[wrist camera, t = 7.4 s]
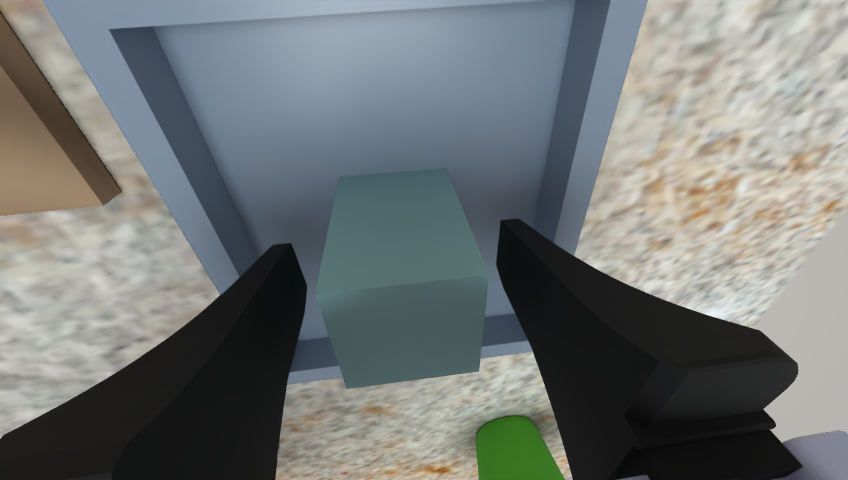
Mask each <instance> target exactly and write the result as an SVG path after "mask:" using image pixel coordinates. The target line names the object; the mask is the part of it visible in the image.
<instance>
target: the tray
mask: <svg viewBox="0 0 848 480" xmlns="http://www.w3.org/2000/svg"><path fill="white" fill-rule="evenodd" d="M647 1H648V0H43V2H44V4H45V5H46V7H47V8H48V10H49V12H50V13H51V15H52V17H53V18H54V20H55V22H56V23H57V25H58V27H59V28H60V30H61V32H62V33H63V35H64V37H65V38H66V40H67V42H68V43H69V45H70V47H71V48H72V50H73V52H74V53H75V55H76V57H77V58H78V60H79V62H80V63H81V65H82V67H83V68H84V70H85V71H86V73H87V75H88V76H89V78H90V80H91V81H92V83H93V85H94V86H95V88H96V90H97V91H98V93H99V95H100V96H101V98H102V100H103V101H104V103H105V105H106V106H107V108H108V110H109V111H110V113H111V115H112V116H113V118H114V120H115V121H116V123H117V125H118V126H119V128H120V130H121V131H122V133H123V134H124V136H125V138H126V139H127V141H128V143H129V144H130V146H131V148H132V149H133V151H134V153H135V154H136V156H137V158H138V159H139V161H140V163H141V164H142V166H143V168H144V169H145V171H146V173H147V174H148V176H149V178H150V179H151V181H152V183H153V184H154V186H155V188H156V189H157V191H158V192H159V194H160V196H161V197H162V199H163V201H164V202H165V204H166V206H167V207H168V209H169V211H170V212H171V214H172V216H173V217H174V219H175V221H176V222H177V224H178V226H179V227H180V229H181V231H182V232H183V234H184V236H185V237H186V239H187V241H188V242H189V244H190V246H191V247H192V249H193V251H194V252H195V254H196V255H197V257H198V259H199V260H200V262H201V264H202V265H203V267H204V269H205V270H206V272H207V274H208V275H209V277H210V279H211V280H212V282H213V284H214V285H215V287H216V289H217V290H218V292H219V294H220V295H221V294H222V293H224V292H225V291H226V290H227V289H228V288H229V287H230V286H231V285H232V284H233V283H234V282H235V281H236V280H237V279H238V278H239V277H240V276H241V275H242V274H243V273H245V272H246V271H247V270H248V269H249V268H250V267H251V266H252V265H253V264H254V263H255V262H256V261H257V260H258V259H259V258H260V257H261V256H262V255H263V254H264V253H265V252H266V251H267V250H268V249H269V248H270V247H271V246H272V245H275V244H285V243H292V246H293V248H294V251H295V254H296V257H297V259H298V262H299V265H300V268H301V270H302V273H303V276H304V278H305V281H306V284H307V297H306V306H305V313H304V318H303V322H302V326H301V330H300V334H299V338H298V341H297V345H296V349H295V353H294V357H293V361H292V365H291V369H290V372H289V377H288V382H287V385H288V384H295V383H303V382H310V381H318V380H325V379H332V378H340V377H343V376H342V373H341V370H340V367H339V364H338V361H337V358H336V355H335V352H334V349H333V346H332V344H331V341H330V338H329V335H328V332H327V329H326V326H325V323H324V320H323V317H322V314H321V311H320V308H319V305H318V302H317V299H316V296H315V291H316V286H317V281H318V276H319V271H320V267H321V262H322V257H323V252H324V247H325V242H326V238H327V233H328V228H329V223H330V218H331V214H332V209H333V204H334V199H335V194H336V189H337V185H338V180H339V177H347V176H359V175H370V174H382V173H394V172H405V171H417V170H428V169H440V168H446V170H447V172H448V175H449V177H450V180H451V182H452V185H453V187H454V189H455V192H456V194H457V197H458V199H459V202H460V204H461V207H462V209H463V211H464V214H465V216H466V219H467V221H468V224H469V226H470V229H471V231H472V233H473V236H474V238H475V241H476V243H477V246H478V248H479V251H480V253H481V256H482V258H483V260H484V263H485V265H486V268H487V270H488V273H489V283H488V292H487V302H486V311H485V320H484V329H483V339H482V348H481V357H480V358H488V357H495V356H502V355H510V354H517V353H525V352H532V348H531V346H530V344H529V341H528V339H527V337H526V335H525V333H524V331H523V329H522V327H521V325H520V322H519V320H518V318H517V316H516V314H515V312H514V310H513V308H512V306H511V304H510V301H509V299H508V297H507V295H506V293H505V291H504V289H503V286H502V283H501V280H500V276H499V273H498V270H497V266H496V259H497V249H498V240H499V231H500V221H501V220H506V219H515V218H518V219H520V220H521V221H523V222H524V223H526V224H527V225H529V226H530V227H532V228H533V229H534V230H536V231H537V232H539V233H540V234H541V235H543V236H544V237H546V238H547V239H549V240H550V241H552V242H553V243H555V244H556V245H557V246H559V247H560V248H562V249H564V250H565V251H567V252H568V253H570V254H571V255H573V256H574V253H575V250H576V246H577V243H578V239H579V236H580V233H581V229H582V226H583V222H584V219H585V215H586V212H587V208H588V205H589V201H590V198H591V194H592V191H593V188H594V184H595V181H596V177H597V174H598V170H599V167H600V163H601V160H602V156H603V153H604V150H605V146H606V143H607V139H608V136H609V132H610V129H611V125H612V122H613V118H614V115H615V111H616V108H617V105H618V101H619V98H620V94H621V91H622V87H623V84H624V80H625V77H626V73H627V70H628V67H629V63H630V60H631V56H632V53H633V49H634V46H635V42H636V39H637V35H638V32H639V28H640V25H641V22H642V18H643V15H644V11H645V8H646V4H647Z"/></svg>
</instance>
